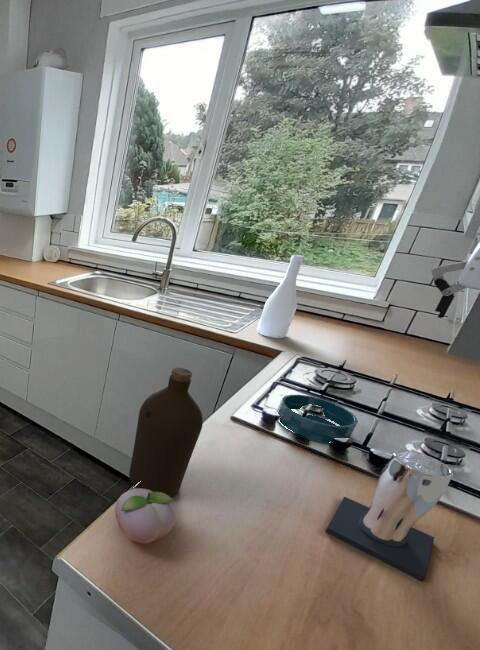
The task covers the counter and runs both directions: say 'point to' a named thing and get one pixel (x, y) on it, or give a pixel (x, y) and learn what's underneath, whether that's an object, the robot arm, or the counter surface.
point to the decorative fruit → (144, 515)
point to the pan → (316, 419)
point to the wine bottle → (281, 304)
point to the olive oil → (166, 436)
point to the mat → (403, 558)
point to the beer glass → (404, 496)
